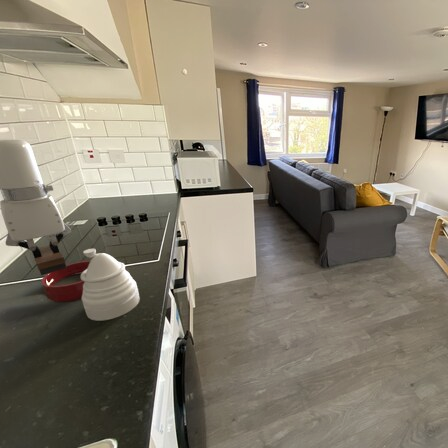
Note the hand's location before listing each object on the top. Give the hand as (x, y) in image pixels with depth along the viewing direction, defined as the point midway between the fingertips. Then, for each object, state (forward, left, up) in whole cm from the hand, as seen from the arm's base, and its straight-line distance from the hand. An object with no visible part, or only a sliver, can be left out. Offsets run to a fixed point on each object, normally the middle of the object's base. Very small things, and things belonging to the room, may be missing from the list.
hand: (48, 259), depth 70 cm
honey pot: (+14, -3, -15) cm, 21 cm away
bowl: (-1, +9, -15) cm, 17 cm away
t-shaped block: (+2, -3, 0) cm, 3 cm away
